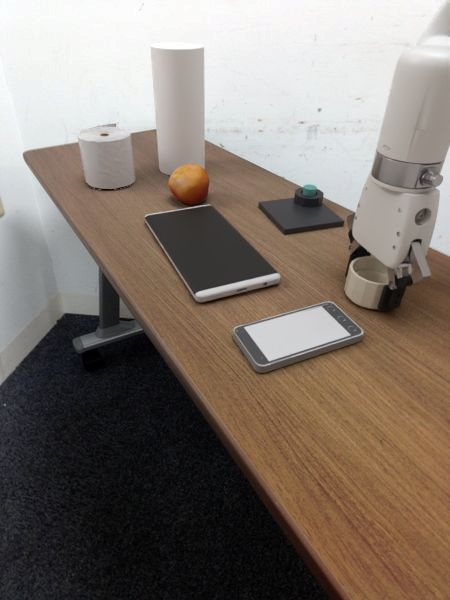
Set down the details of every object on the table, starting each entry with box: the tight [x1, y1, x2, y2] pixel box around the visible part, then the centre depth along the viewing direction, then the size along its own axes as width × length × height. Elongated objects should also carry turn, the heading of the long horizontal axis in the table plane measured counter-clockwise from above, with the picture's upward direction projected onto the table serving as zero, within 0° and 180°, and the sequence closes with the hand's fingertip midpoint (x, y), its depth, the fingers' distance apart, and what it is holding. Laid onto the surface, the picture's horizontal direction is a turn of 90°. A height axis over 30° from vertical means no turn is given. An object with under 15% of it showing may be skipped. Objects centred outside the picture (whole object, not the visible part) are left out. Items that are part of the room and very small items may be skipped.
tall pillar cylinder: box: [150, 41, 206, 176], centre depth 93 cm, size 11×11×25 cm
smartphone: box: [232, 300, 364, 374], centre depth 53 cm, size 7×1×15 cm
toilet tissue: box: [76, 122, 137, 188], centre depth 90 cm, size 11×12×10 cm
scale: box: [257, 187, 345, 236], centre depth 80 cm, size 12×12×3 cm
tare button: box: [302, 184, 318, 196], centre depth 82 cm, size 3×3×2 cm
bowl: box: [343, 255, 402, 310], centre depth 59 cm, size 7×7×4 cm
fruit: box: [168, 164, 210, 206], centre depth 84 cm, size 8×8×8 cm
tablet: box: [144, 204, 282, 303], centre depth 69 cm, size 13×27×2 cm, turn 24°
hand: (370, 291), depth 60 cm, fingers closed on bowl, 7 cm apart
